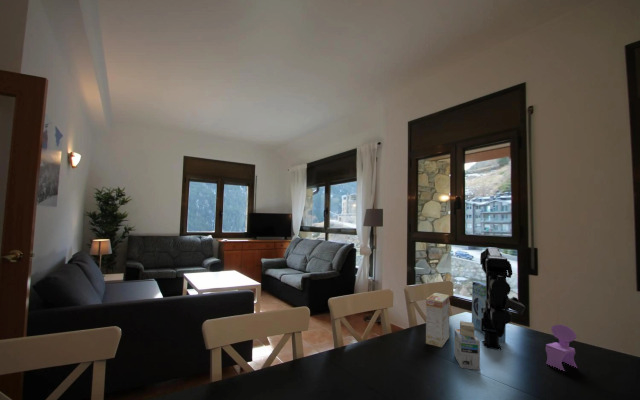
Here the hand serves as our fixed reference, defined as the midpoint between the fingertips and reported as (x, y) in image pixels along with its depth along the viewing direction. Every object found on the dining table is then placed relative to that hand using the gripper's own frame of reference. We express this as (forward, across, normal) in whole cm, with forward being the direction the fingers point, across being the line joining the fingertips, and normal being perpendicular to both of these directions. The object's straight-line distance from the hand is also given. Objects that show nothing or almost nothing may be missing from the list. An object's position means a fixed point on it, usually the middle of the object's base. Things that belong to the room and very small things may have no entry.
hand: (497, 332), depth 110 cm
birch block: (+2, 0, +10) cm, 10 cm away
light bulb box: (+13, 0, +10) cm, 17 cm away
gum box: (+13, +38, -2) cm, 40 cm away
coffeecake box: (+13, +18, +21) cm, 30 cm away
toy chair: (+13, +13, -23) cm, 30 cm away
